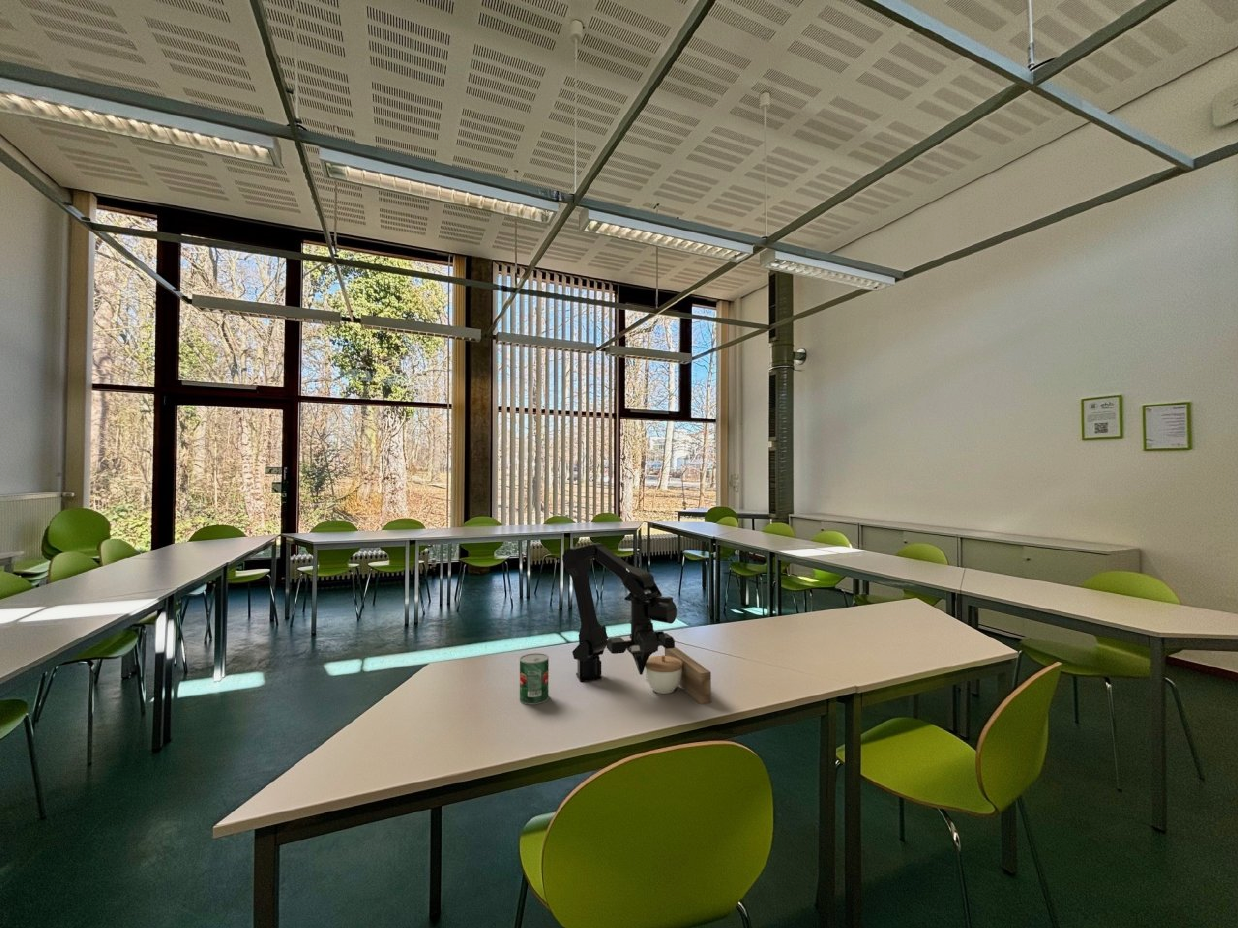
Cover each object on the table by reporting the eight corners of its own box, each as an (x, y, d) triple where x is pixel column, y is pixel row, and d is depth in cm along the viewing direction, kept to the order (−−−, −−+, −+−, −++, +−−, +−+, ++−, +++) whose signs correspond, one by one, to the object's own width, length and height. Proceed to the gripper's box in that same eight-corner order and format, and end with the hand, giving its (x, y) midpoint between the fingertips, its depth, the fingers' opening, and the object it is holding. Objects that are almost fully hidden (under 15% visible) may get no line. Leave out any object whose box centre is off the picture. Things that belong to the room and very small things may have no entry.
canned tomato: (514, 697, 138) (514, 656, 139) (540, 690, 143) (540, 651, 143) (527, 707, 132) (527, 664, 132) (554, 699, 137) (553, 658, 137)
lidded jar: (637, 689, 143) (636, 655, 143) (661, 679, 150) (661, 647, 151) (665, 700, 135) (665, 665, 136) (690, 689, 143) (689, 655, 143)
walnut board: (700, 703, 133) (700, 673, 134) (664, 672, 156) (664, 646, 156) (710, 702, 134) (710, 671, 134) (673, 671, 157) (673, 645, 157)
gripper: (618, 627, 131) (617, 688, 130) (683, 622, 137) (683, 680, 136) (606, 617, 142) (605, 673, 141) (667, 612, 147) (667, 667, 147)
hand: (640, 674), depth 141 cm, fingers closed
